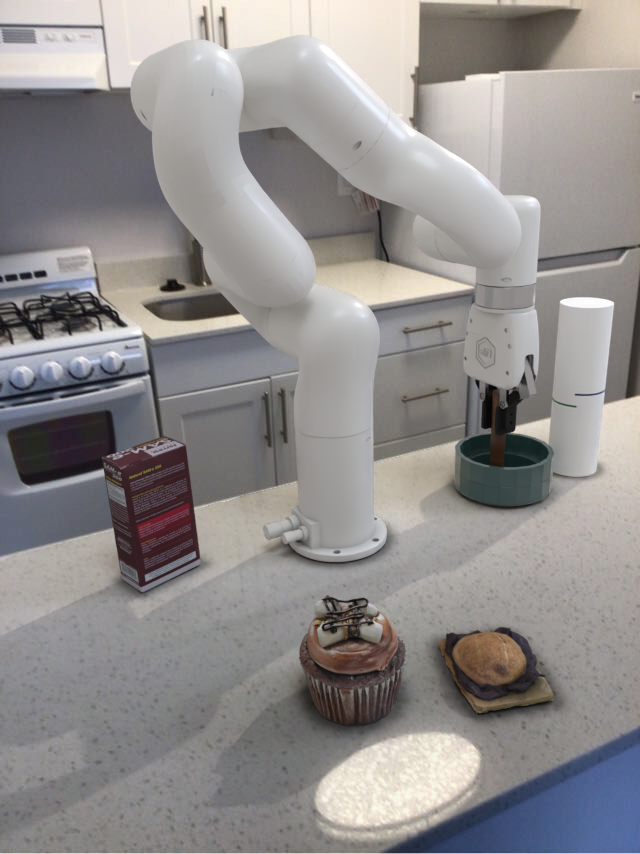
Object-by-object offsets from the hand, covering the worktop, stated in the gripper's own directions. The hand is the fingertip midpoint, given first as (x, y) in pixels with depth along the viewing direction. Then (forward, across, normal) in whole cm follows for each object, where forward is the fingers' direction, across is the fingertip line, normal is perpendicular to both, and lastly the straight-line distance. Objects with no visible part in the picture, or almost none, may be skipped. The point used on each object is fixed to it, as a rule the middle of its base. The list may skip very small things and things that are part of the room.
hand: (498, 429), depth 103 cm
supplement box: (+10, -5, -47) cm, 48 cm away
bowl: (+10, 0, +2) cm, 10 cm away
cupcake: (+10, +25, -39) cm, 47 cm away
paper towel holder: (+8, 0, 0) cm, 8 cm away
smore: (+10, +29, -26) cm, 40 cm away
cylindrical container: (+10, 0, +15) cm, 18 cm away
